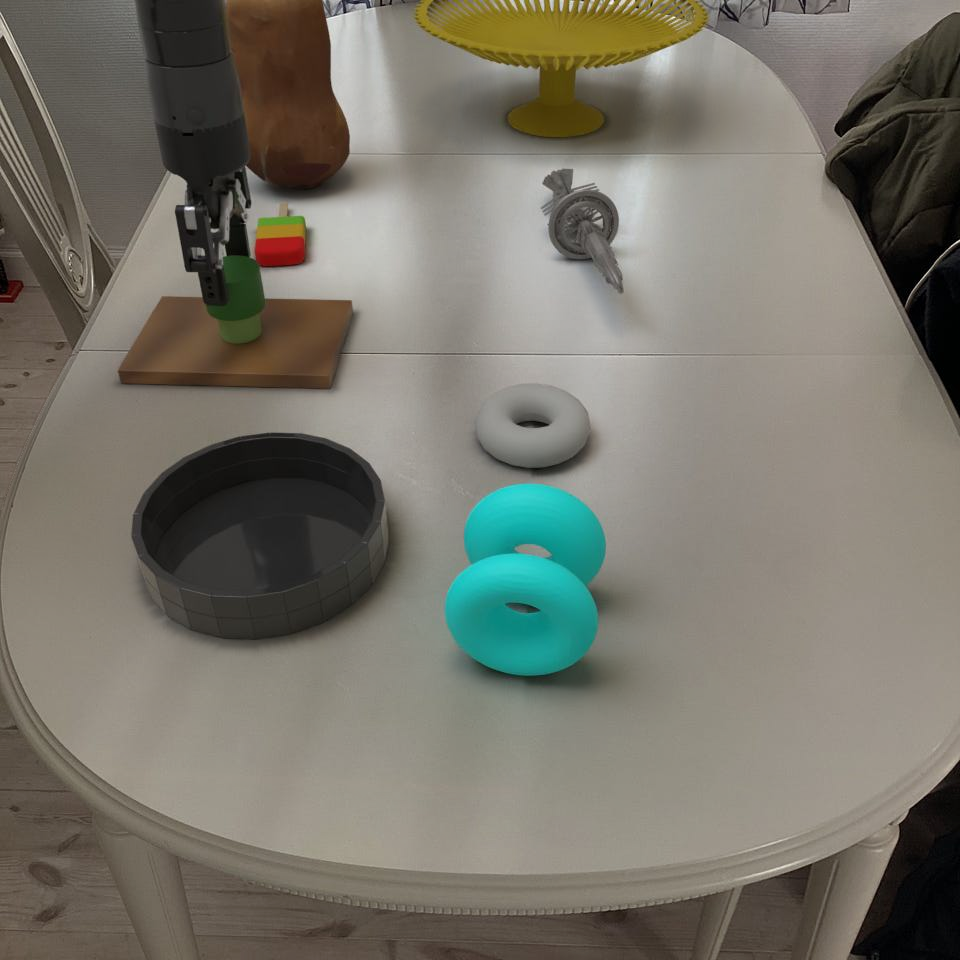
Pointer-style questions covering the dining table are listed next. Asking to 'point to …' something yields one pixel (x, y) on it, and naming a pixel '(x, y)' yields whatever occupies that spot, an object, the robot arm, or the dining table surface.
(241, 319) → the green cylinder
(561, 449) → the donut
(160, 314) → the board
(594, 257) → the spaceship
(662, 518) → the dining table surface
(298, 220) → the popsicle
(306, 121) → the butternut squash
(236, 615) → the pan
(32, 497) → the dining table surface
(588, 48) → the cake stand
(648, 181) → the dining table surface
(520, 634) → the donuts
